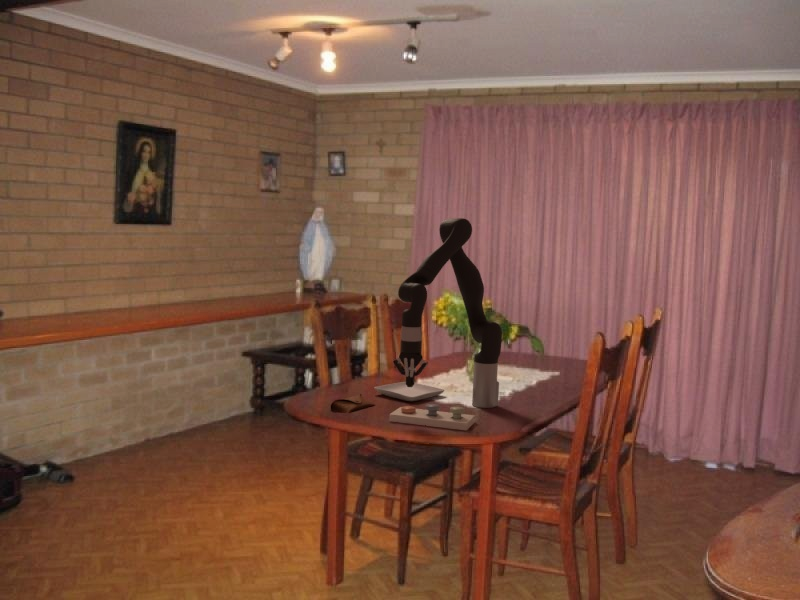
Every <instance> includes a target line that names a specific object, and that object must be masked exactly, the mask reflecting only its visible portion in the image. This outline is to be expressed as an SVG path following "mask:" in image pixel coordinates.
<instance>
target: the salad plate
mask: <svg viewBox="0 0 800 600" xmlns="http://www.w3.org/2000/svg"><path fill="white" fill-rule="evenodd" d="M373 388H374V390H375V391H377V392H378V393H380V394H381V395H384V396H387V397H389V398H393V399H398V400H402V401H407V402H416V401H420V400H425V399H429V398H430V399H431V398H433V396H434V397H436V396H440V395H441V394H443V393H444V392H445V391H446V389H445V388H444V389H443V388H439V387H435V386H432V385H431V386H430V385H426V384H421V383H418V382H415V383H414V385H413V387H407V385H406V381H401V382H394V383H388V384H383V385H379V386H374V387H373Z"/></svg>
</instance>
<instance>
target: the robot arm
mask: <svg viewBox="0 0 800 600" xmlns="http://www.w3.org/2000/svg"><path fill="white" fill-rule="evenodd" d="M438 231H439V235H440V236H439V237H440V240H441V243H442V244H441V245H440V246H438V247H437V248H436V249H435V250H433V252H431V253H429V254H428V255H427V256H426V257H425V258H424V259H423V260H422V262H421V264H420V265H419V266H418V268H417V269H416V271H415V272H413V273H412V274H411V275H409V276H407V278H406V279H405V280H404V281H402V283H401V284H400V286H399V288H398V293H397V294H398V298H399V299H400V300H401V301H402V302H405V303H411V304H410V307H409V308H407V309H404V310H402V313H401V328H400V329H401V330H400V348H399V349H400V353H399V355H398V357H397V358H396V359H393V364H394V366H395V367H396V368H397V369H398V372H399V373H400V375H403V376H404V377H405V382H406V385H407V387H413V385H414V383H416V382H415V381H416V379H415V378H416V377H418V376H419V375H420V374H421V373H423V371H424V369H425V368H426V367H427V366H428V365H429V362H428V361H425V360H424V359H423V358H424V357H423V355H422V347H423V346H422V345H423V344H422V343H423V331H422V329H423V327H422V322H423V320H422V319H423V313H424V310H425V305H426V303H427V299H428V289H427V287H426V286H430V285H431V284H432V283H433V282H434V281H435V279H436V277H437V276H438V274H439V273H440V272H441V271H442V270H443V267H444V266H445V265H446V264H447V263H448V262H449V261H450V263H451V267H452V270H453V272H454V276H455V279H456V283H457V286H458V289H459V292H460V295H461V298H462V301H463V304H464V308H465V311H466V316H467V319H468V324H469V325H468V326H469V330H470V333H471V337H472V338H473V340H474V342H476V343H479V344H481V345H480V351H479V352H477V353H475V354H474V356H473V379H472V401H471V404H472V406H474V407H477V408H481V409H482V408H483V409H493V408H495V407H499V392H500V382H499V381H498V365H499V357H500V356H501V350H502V340H503V339H502V338H503V332H502V331H503V330H502V328H501V325H500V324H499V323H497V322H494V321H490V320H488V319H487V317H486V314H485V311H484V308H483V300H484V295H485V287H484V283H483V280H482V276H481V273H480V270H479V269H478V268H477V266H476V264H475V263H474V262H473V261H472V260H471V258H469V257H468V255H467V254H466V252H465V251H464V248H463V246H464V245H465V244H467V242H468V241H469V240H470V239H471V236H472V233H473V227H472V223H471V222H470V221H469V220H468V219H466V218H462V217H459V218H458V217H457V218H456V217H455V218H448V219H444V220H442V222H441V223H440V224H439V230H438ZM402 364H403V365H402ZM418 366H420V367H419V368H418V369H417V367H418Z"/></svg>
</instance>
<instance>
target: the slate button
mask: <svg viewBox="0 0 800 600" xmlns="http://www.w3.org/2000/svg"><path fill="white" fill-rule="evenodd" d="M424 407H425V408H424V410H428V416H434V417H437V411H440V410H441V405H440V404H437V403H429V404H425V406H424Z"/></svg>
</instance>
